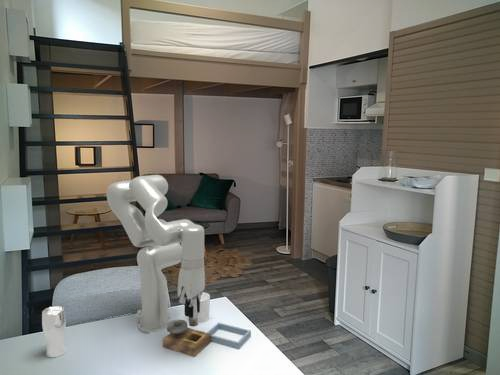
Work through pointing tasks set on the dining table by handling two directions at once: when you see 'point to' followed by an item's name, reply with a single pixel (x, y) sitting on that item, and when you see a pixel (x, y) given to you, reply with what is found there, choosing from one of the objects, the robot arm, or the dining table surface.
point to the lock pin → (194, 313)
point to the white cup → (204, 307)
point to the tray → (230, 329)
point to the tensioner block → (185, 338)
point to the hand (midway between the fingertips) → (192, 313)
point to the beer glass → (54, 330)
